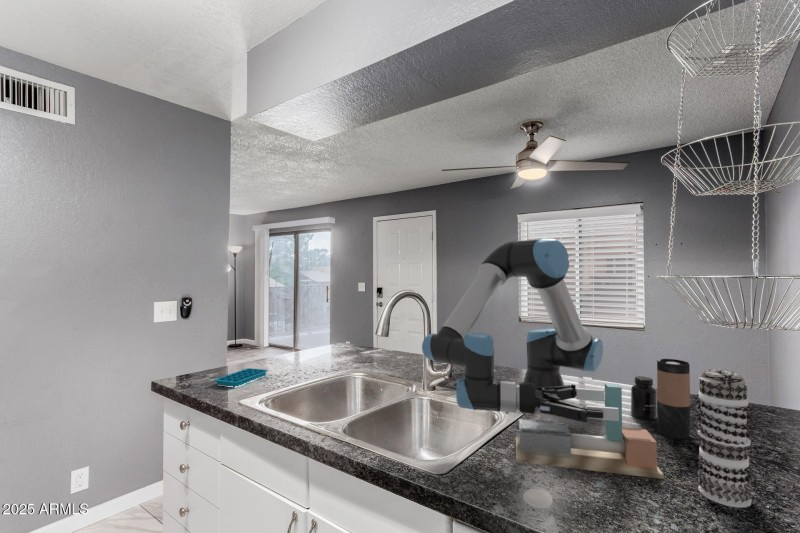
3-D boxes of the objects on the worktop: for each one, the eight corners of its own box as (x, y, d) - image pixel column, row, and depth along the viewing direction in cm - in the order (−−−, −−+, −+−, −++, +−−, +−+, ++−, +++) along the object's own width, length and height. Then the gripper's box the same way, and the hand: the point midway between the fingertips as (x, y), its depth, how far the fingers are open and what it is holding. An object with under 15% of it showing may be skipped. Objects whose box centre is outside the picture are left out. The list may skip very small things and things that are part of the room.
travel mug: (696, 440, 107) (695, 365, 107) (664, 438, 108) (663, 364, 108) (682, 429, 114) (681, 359, 114) (652, 427, 116) (652, 358, 116)
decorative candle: (729, 512, 76) (727, 379, 76) (684, 486, 85) (683, 368, 85) (767, 505, 77) (765, 376, 78) (719, 481, 86) (718, 365, 87)
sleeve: (519, 453, 98) (519, 429, 98) (519, 441, 105) (519, 419, 105) (570, 458, 95) (570, 434, 95) (566, 446, 102) (566, 423, 102)
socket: (627, 465, 91) (626, 439, 92) (619, 451, 98) (618, 427, 98) (656, 468, 90) (656, 442, 90) (646, 454, 97) (646, 429, 97)
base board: (516, 461, 96) (516, 457, 96) (515, 440, 107) (515, 436, 107) (663, 479, 87) (663, 474, 87) (645, 454, 99) (645, 450, 99)
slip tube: (565, 450, 97) (564, 384, 97) (563, 444, 100) (562, 380, 100) (639, 458, 92) (638, 388, 93) (634, 451, 96) (634, 384, 96)
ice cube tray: (269, 377, 174) (269, 370, 174) (235, 390, 155) (235, 382, 155) (248, 374, 178) (248, 368, 178) (212, 387, 159) (212, 380, 159)
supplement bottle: (651, 422, 119) (650, 382, 119) (627, 415, 125) (626, 377, 125) (660, 417, 123) (660, 378, 123) (637, 411, 129) (636, 373, 129)
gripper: (517, 396, 113) (599, 403, 108) (519, 431, 89) (625, 441, 83) (517, 370, 113) (598, 375, 108) (519, 398, 89) (625, 406, 84)
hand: (610, 404), depth 96 cm, fingers open, 13 cm apart
